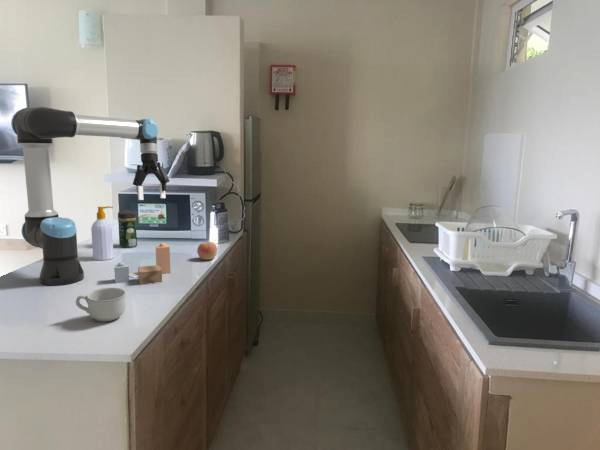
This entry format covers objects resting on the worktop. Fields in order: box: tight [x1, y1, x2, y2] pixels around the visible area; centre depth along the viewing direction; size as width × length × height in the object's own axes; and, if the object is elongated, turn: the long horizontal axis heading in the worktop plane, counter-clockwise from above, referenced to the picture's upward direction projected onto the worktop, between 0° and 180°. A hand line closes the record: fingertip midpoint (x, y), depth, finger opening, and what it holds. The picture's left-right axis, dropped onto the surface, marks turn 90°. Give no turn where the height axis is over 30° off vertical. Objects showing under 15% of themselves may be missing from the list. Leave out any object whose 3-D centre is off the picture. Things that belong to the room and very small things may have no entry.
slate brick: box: [113, 261, 130, 284], centre depth 175 cm, size 5×5×7 cm
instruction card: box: [129, 270, 138, 278], centre depth 184 cm, size 8×6×1 cm
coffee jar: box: [117, 209, 138, 249], centre depth 232 cm, size 10×8×19 cm
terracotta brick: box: [155, 242, 171, 275], centre depth 187 cm, size 5×5×12 cm
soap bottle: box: [90, 205, 114, 261], centre depth 206 cm, size 9×9×24 cm
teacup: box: [75, 287, 127, 323], centre depth 137 cm, size 14×11×8 cm
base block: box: [137, 265, 163, 285], centre depth 176 cm, size 8×8×5 cm
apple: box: [196, 241, 218, 261], centre depth 209 cm, size 9×9×8 cm
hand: (151, 199), depth 212 cm, fingers open, 13 cm apart
